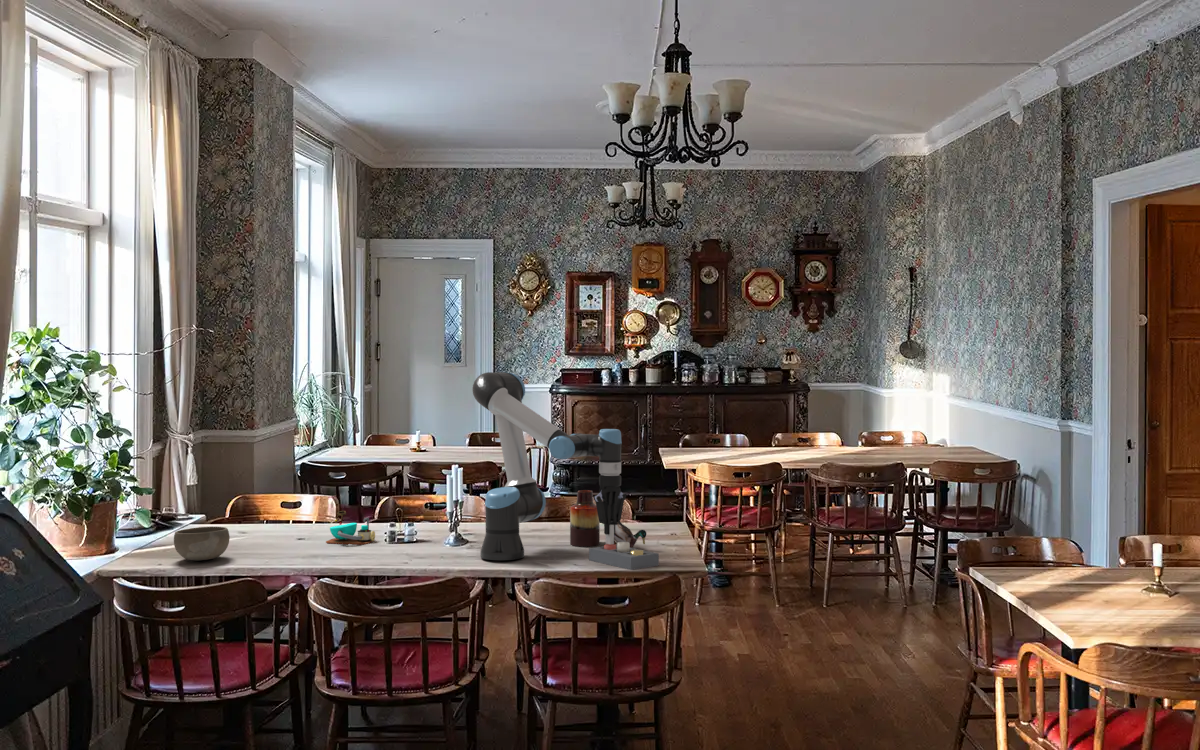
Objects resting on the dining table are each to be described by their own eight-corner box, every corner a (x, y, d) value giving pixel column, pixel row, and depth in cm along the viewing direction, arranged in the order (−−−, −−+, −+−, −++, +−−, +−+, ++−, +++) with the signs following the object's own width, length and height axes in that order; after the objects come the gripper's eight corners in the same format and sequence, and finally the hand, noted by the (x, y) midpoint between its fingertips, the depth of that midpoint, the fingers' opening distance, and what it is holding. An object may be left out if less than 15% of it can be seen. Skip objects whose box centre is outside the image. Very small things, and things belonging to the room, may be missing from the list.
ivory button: (622, 554, 339) (622, 544, 339) (614, 553, 343) (614, 542, 343) (632, 553, 342) (632, 542, 342) (624, 551, 345) (624, 541, 345)
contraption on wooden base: (365, 548, 372) (365, 506, 372) (318, 547, 374) (318, 505, 374) (379, 542, 386) (379, 502, 386) (334, 540, 388) (334, 501, 388)
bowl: (170, 556, 353) (170, 527, 353) (224, 552, 362) (224, 524, 362) (177, 564, 338) (177, 534, 338) (233, 560, 347) (233, 530, 347)
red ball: (609, 556, 345) (609, 546, 345) (601, 555, 348) (601, 545, 348) (618, 555, 347) (618, 545, 347) (611, 553, 351) (611, 543, 351)
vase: (605, 546, 375) (605, 491, 375) (584, 549, 368) (584, 493, 368) (585, 543, 383) (585, 488, 383) (564, 546, 375) (564, 490, 375)
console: (630, 569, 330) (630, 557, 330) (589, 560, 347) (589, 548, 347) (658, 565, 337) (658, 553, 337) (616, 556, 355) (616, 544, 355)
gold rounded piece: (636, 562, 334) (636, 552, 334) (627, 561, 337) (627, 550, 337) (645, 561, 337) (645, 550, 337) (637, 559, 340) (637, 549, 340)
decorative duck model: (654, 540, 366) (638, 501, 369) (644, 543, 359) (628, 503, 363) (621, 554, 373) (606, 516, 376) (611, 557, 366) (595, 518, 369)
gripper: (602, 476, 341) (601, 547, 341) (631, 474, 349) (631, 543, 349) (588, 474, 347) (587, 544, 347) (617, 472, 355) (617, 540, 355)
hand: (609, 543), depth 348 cm, fingers closed
